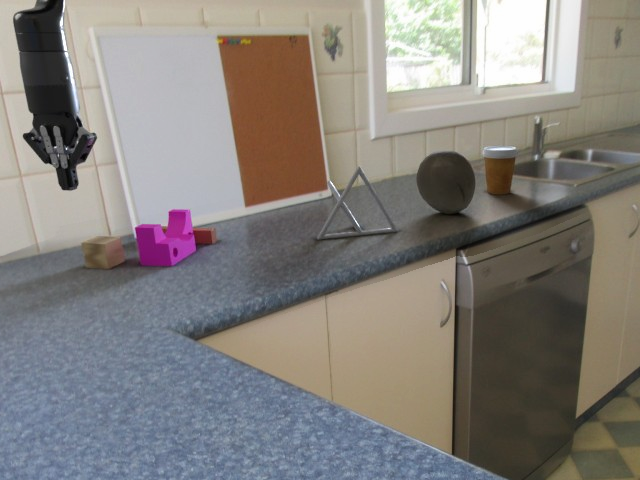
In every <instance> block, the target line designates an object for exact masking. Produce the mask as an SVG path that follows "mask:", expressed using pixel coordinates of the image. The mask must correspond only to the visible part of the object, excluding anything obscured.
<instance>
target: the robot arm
mask: <svg viewBox="0 0 640 480" xmlns="http://www.w3.org/2000/svg"><path fill="white" fill-rule="evenodd" d="M65 15H66V0H36V1H35V4H34V6H33V7H32V8H28V9H23V10H18V11H17V12H14V13H13V17H12V24H13V29H14V30H13V31H14V36H15V40H16V44H17V50H18V57H19V68H20V75H21V79H22V84H23V89H24V94H25V99H26V104H27V109H28V112H29V113H30V114H32V122H31V124H32V125H31V126H32V128H31V129H30V130H29V131H28V132H24V133H23V134H22V139H23V140H24V141H25V142H26V144H27V145H28V146H29V147H30V148H31V150H32V151H33V152H34V153H35V154H36V156H38V159H40V160H41V161H42V163H43V164H45V165H48V164H49V165H51V166H52V167H53V168H55V172H56V173H55V174H56V177H57V183H58V185H59V187H60V189H61V190H62V191H69V192H71V191H75V190H77V189H78V187H79V184H80V182H79V177H78V170H77V166H78V165H80V164H83V163H86V161H87V159H88V157H89V155H90V153H91V151H92V149H93V148H94V145H95V143H96V142H97V140H98V134H97V133H95V132H89V131H88V130H87V129H86V128H84V123H83V121H82V120H81V117H80V115H79V112H80V110H81V106H80V100H79V93H78V89H77V81H76V77H75V71H74V66H73V62H72V60H71V57H70V52H69V46H68V42H67V36H66V29H65Z"/></svg>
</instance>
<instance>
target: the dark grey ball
mask: <svg viewBox="0 0 640 480" xmlns="http://www.w3.org/2000/svg"><path fill="white" fill-rule="evenodd" d="M415 179H416V186H417V190H418V193H419V195H420V197H421V198H422V199H423V201H424V202H425V203H426V204H427V205H428V206H429V207H430V208H432V209H433V210H435V211H437V212H439V213H442V214H445V215H456V214H458V213H460V212H462V211H464V210H465V209H466V208H468V207H469V205H470V204H471V203H472V200H473V198H474V194H475V190H476V175H475V171H474V169H473V166H472V164H471V163H470V161H469V160H468V159H467V158H466V157H465V156H464V155H463V154H462V153H460V152H458V151H454V150H438V151H432V152H431V153H429V154H428V155H427V156H426V157H425V158H423V160H422V161H421V162H420V163H419V166H418V169H417V172H416V178H415Z"/></svg>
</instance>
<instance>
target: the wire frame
mask: <svg viewBox="0 0 640 480" xmlns="http://www.w3.org/2000/svg"><path fill="white" fill-rule="evenodd" d="M358 177H360V179H361V180H362V181H363V183H364V185H365V186H366V189H367V190H368V191H369V193H370V195H371V196H372V198H373V200H374V201H375V203H376V205H377V206H378V208H379V209H380V211H381V213H382V214H383V216H384V218H385V220H386V221H387V223H388V225H389V226H390V228H389V227H388V228H379V229H370V230H362V229H361V226H360V225H359V223H358V222H357V220H356V218H355V217H354V215H353V214H352V212H351V210H350V209H349V207H348V205H347V204H346V202H345V199H346V198H347V196H348V194H349V193H350V191H351V189H352V187H353V186H354V183H356V181H357V178H358ZM326 184H327V186H328V188H329V190H330V192H331V193H332V195H333V196H334V198H335V200H336V201H337V202H336V203H335V205H334V207H333V209H332V211H331V213H330V214H329V216H328V218H327V219H326V221H325V223H324V225H323V226H322V229H320V232H319V234H318V235H317V237H316V239H317V240H328V239H338V238H348V237H359V236H367V235H368V236H369V235H377V234H388V233H396V232H397V233H398V232H399V229H398V227H397V226H396V224H395V223H394V221H393V219H392V217H391V215H390V214H389V212H388V211H387V209H386V207H385V205H384V204H383V202H382V201H381V199H380V198H379V195H378V194H377V192H376V191H375V189H374V187H373V186H372V184H371V182H370V180H369V179H368V177H367V175H366V174H365V172H364V170H363V169H362V167H361V166H360V165H358V166H357V167H356V169H355V170H354V172H353V174H352V176H351V178H350V179H349V181H348V183H347V185H346V187H344V189H343V192H342V194H341V195H340V193H339V192H338V190H337V188H336V187H335V185H334V184H333V183H332V181H331V180H328V181H327V182H326ZM340 208H341V209H342V211H343V212H344V214H345V216H346V217H347V219H348V220H349V222H350V223H351V225H352V226H353V228H354V230H355V231H348V232H339V233H328V234H326V232H327V231H328V229H329V227H330V226H331V224H332V222H333V220H334V218H335V217H336V215H337V214H338V211H339V210H340Z"/></svg>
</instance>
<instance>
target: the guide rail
mask: <svg viewBox="0 0 640 480" xmlns="http://www.w3.org/2000/svg"><path fill="white" fill-rule="evenodd" d="M167 226H168V225H167ZM167 226H165V225H161V228H162V231H163V233H164V235H165V233H166V230H167ZM193 234H194V238H195V244H205V245H206V244H207V245H214V244H215V243H217V242H218V237H217V230H216V228H213V227H211V228H210V227H208V228H207V227H193Z"/></svg>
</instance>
